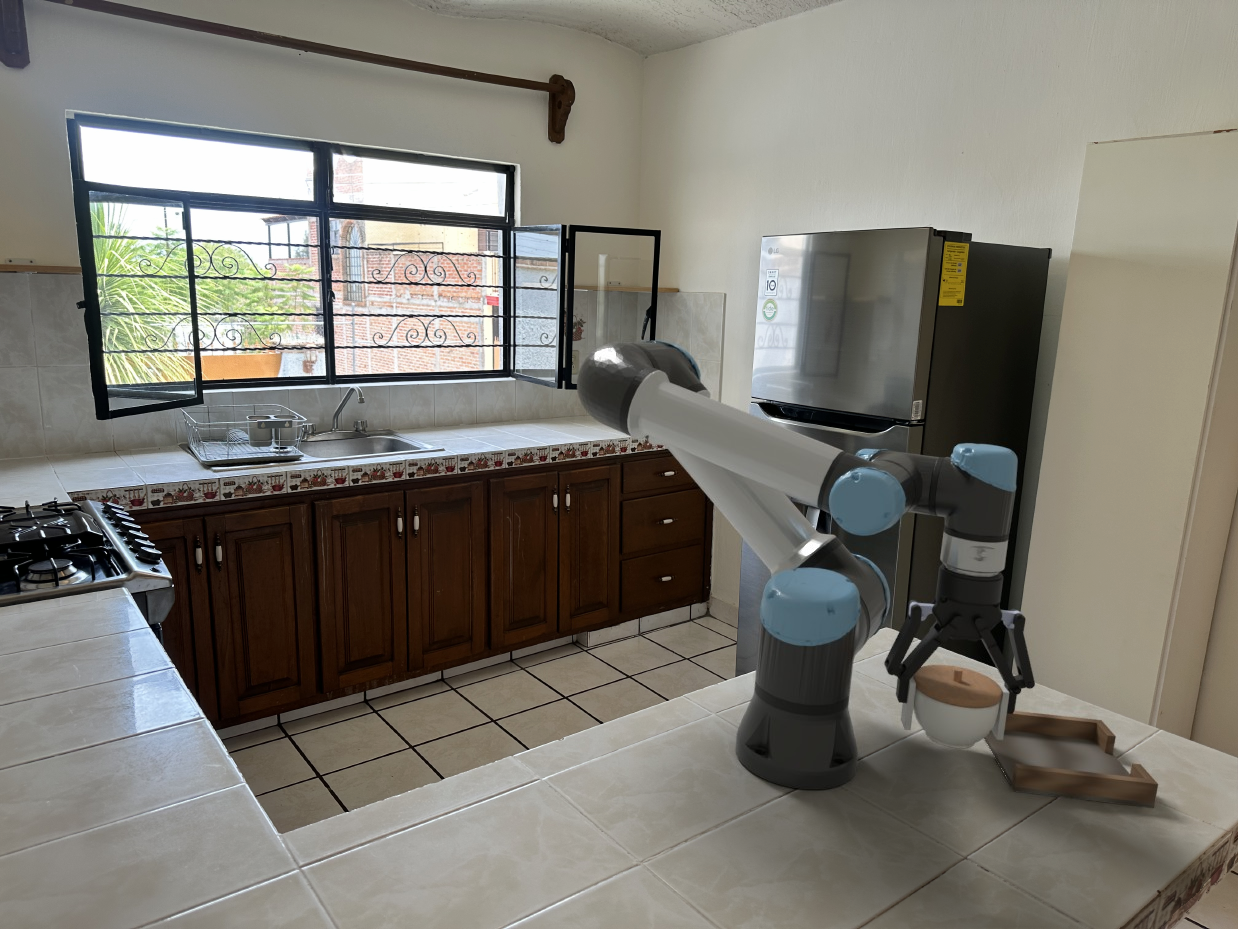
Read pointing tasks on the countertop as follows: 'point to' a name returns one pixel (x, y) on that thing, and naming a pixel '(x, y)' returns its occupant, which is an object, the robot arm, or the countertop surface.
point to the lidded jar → (955, 704)
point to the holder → (1068, 760)
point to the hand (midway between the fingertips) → (950, 730)
